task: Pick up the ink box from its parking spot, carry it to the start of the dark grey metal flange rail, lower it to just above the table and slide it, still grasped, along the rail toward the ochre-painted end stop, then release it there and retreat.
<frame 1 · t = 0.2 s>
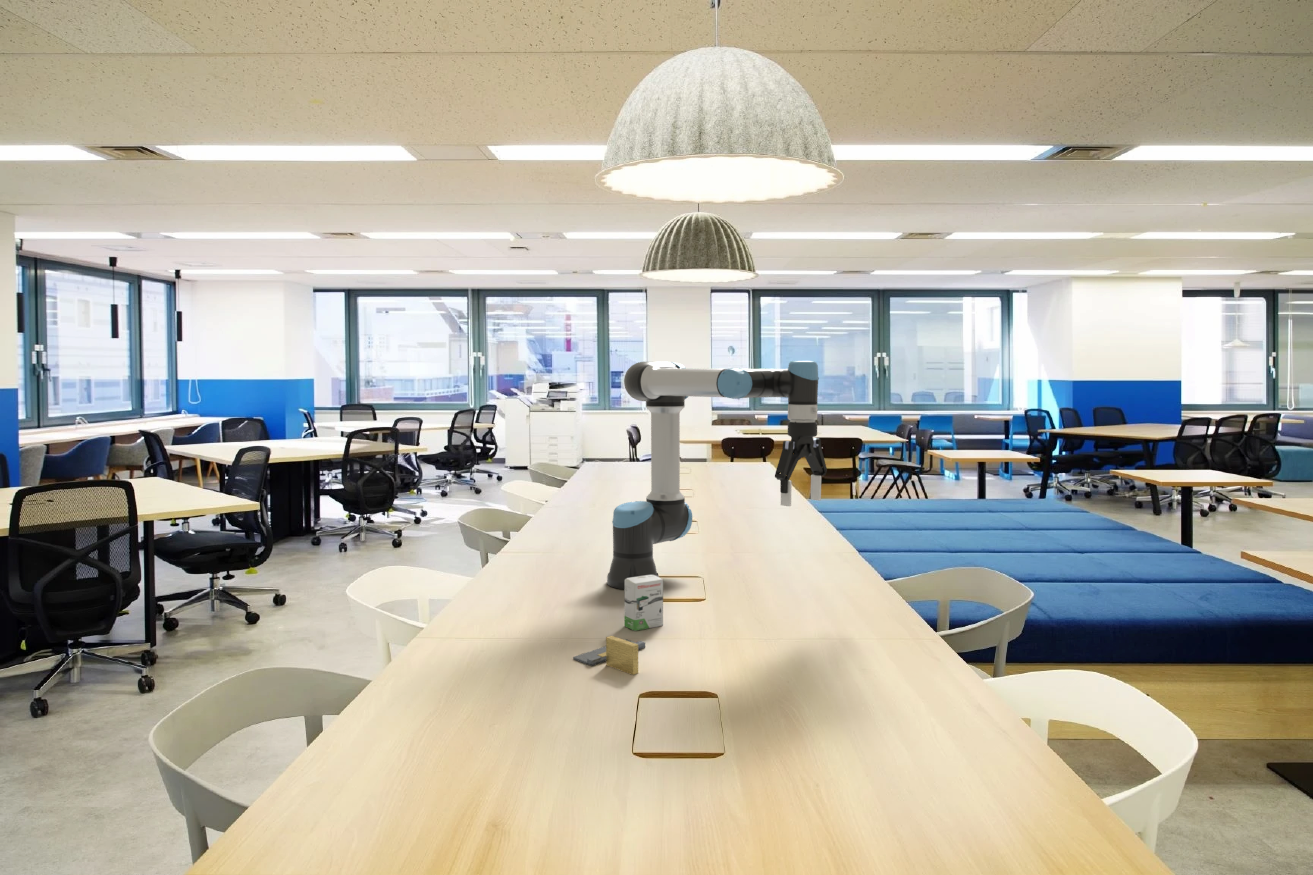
hand: (801, 502, 208), 28 cm above the table, fingers open, 13 cm apart
flange rail: (641, 662, 171), on the table
ink box: (643, 626, 196), on the table
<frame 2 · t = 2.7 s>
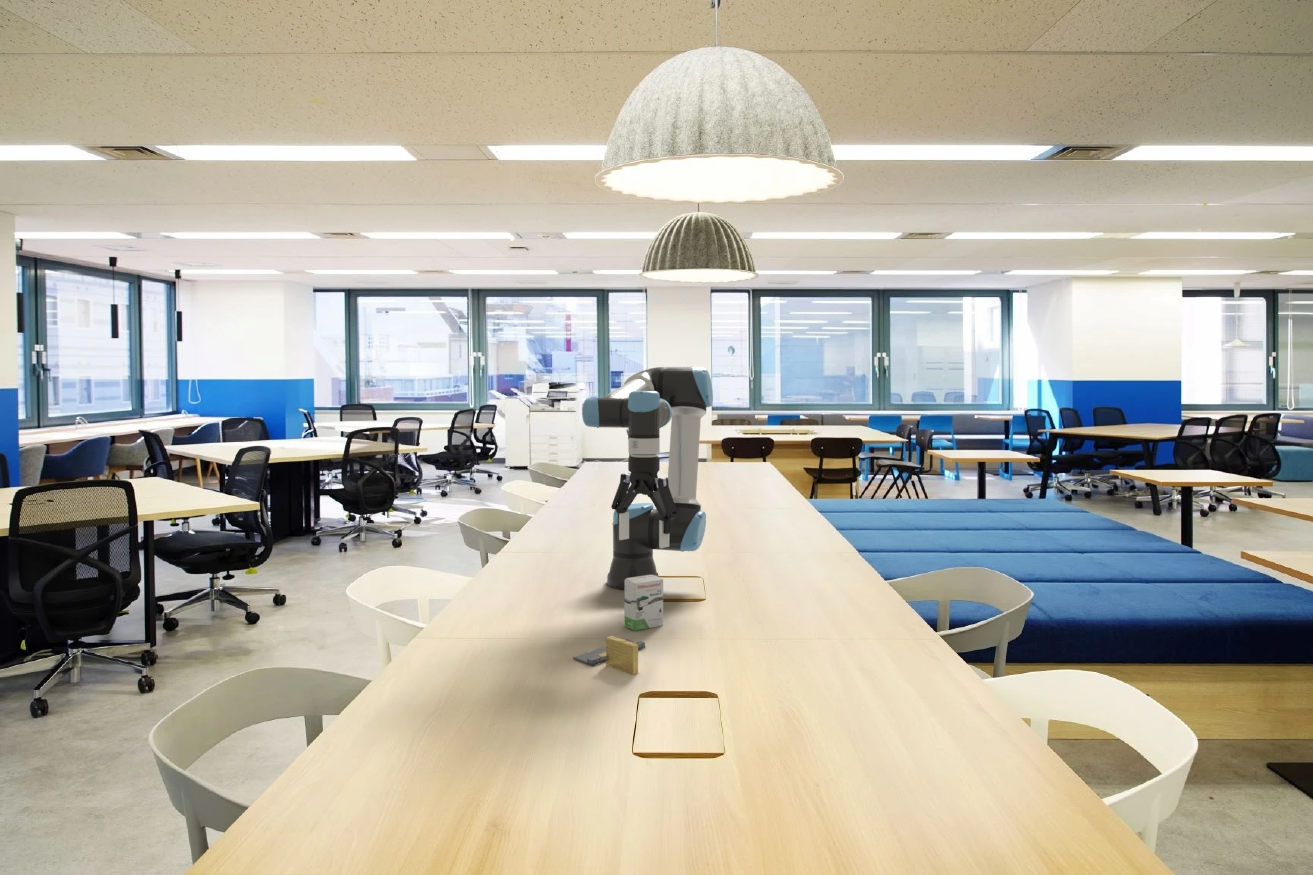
hand: (643, 543, 194), 20 cm above the table, fingers open, 13 cm apart
nothing on the table moved.
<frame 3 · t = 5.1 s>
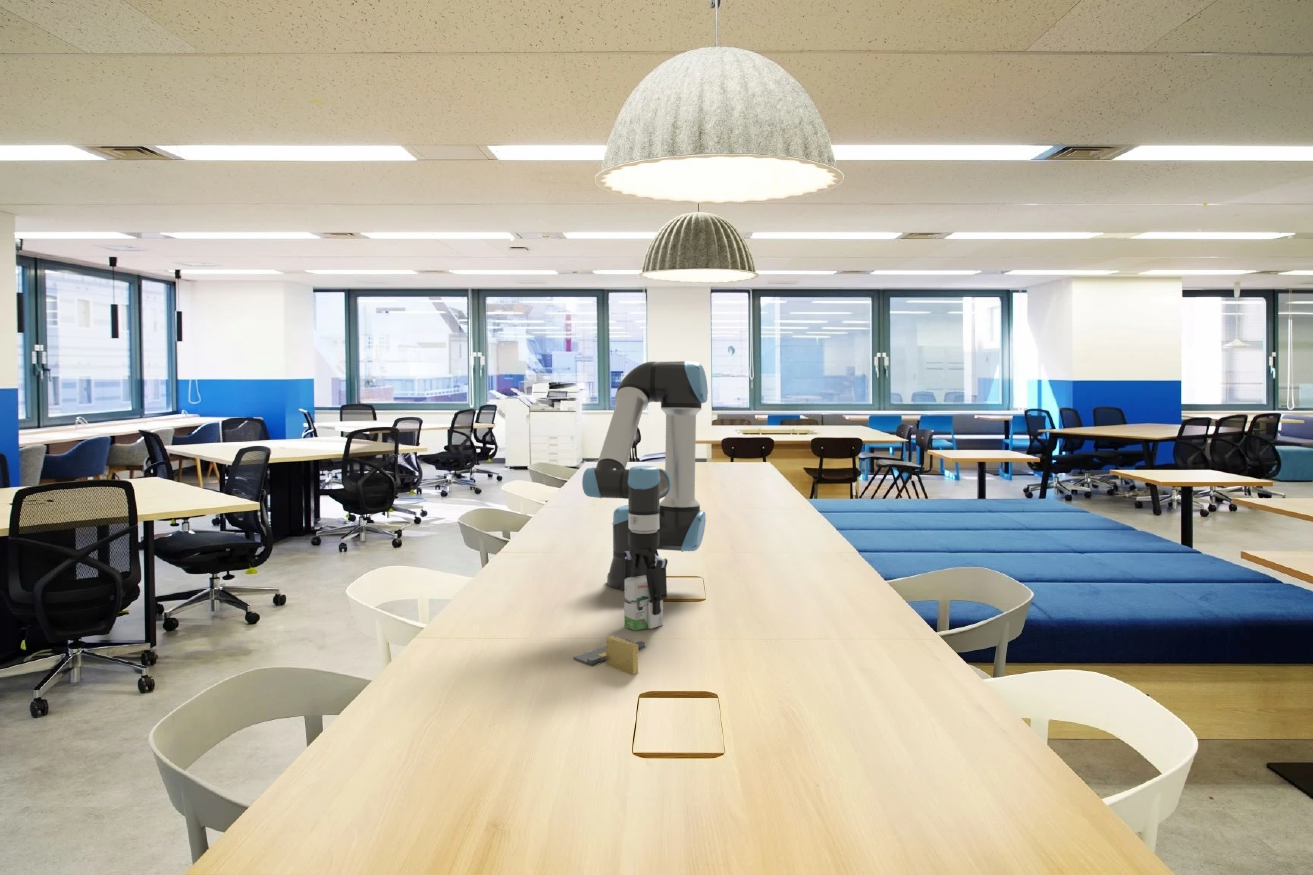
hand: (643, 624, 195), 0 cm above the table, fingers closed on ink box, 6 cm apart
ink box: (643, 626, 195), on the table, touching gripper
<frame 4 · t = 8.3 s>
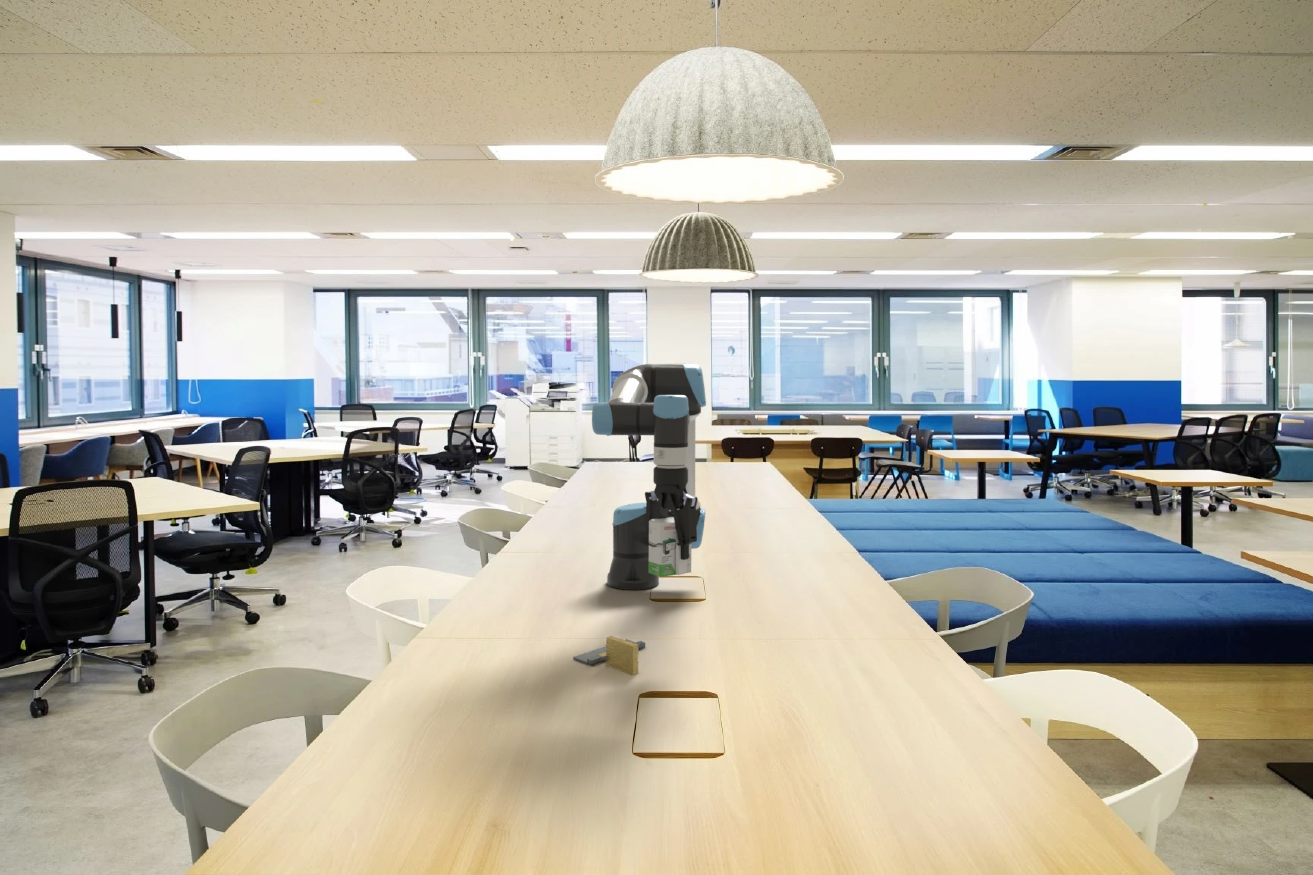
hand: (670, 571, 176), 18 cm above the table, fingers closed on ink box, 6 cm apart
ink box: (670, 573, 176), point 18 cm above the table, touching gripper
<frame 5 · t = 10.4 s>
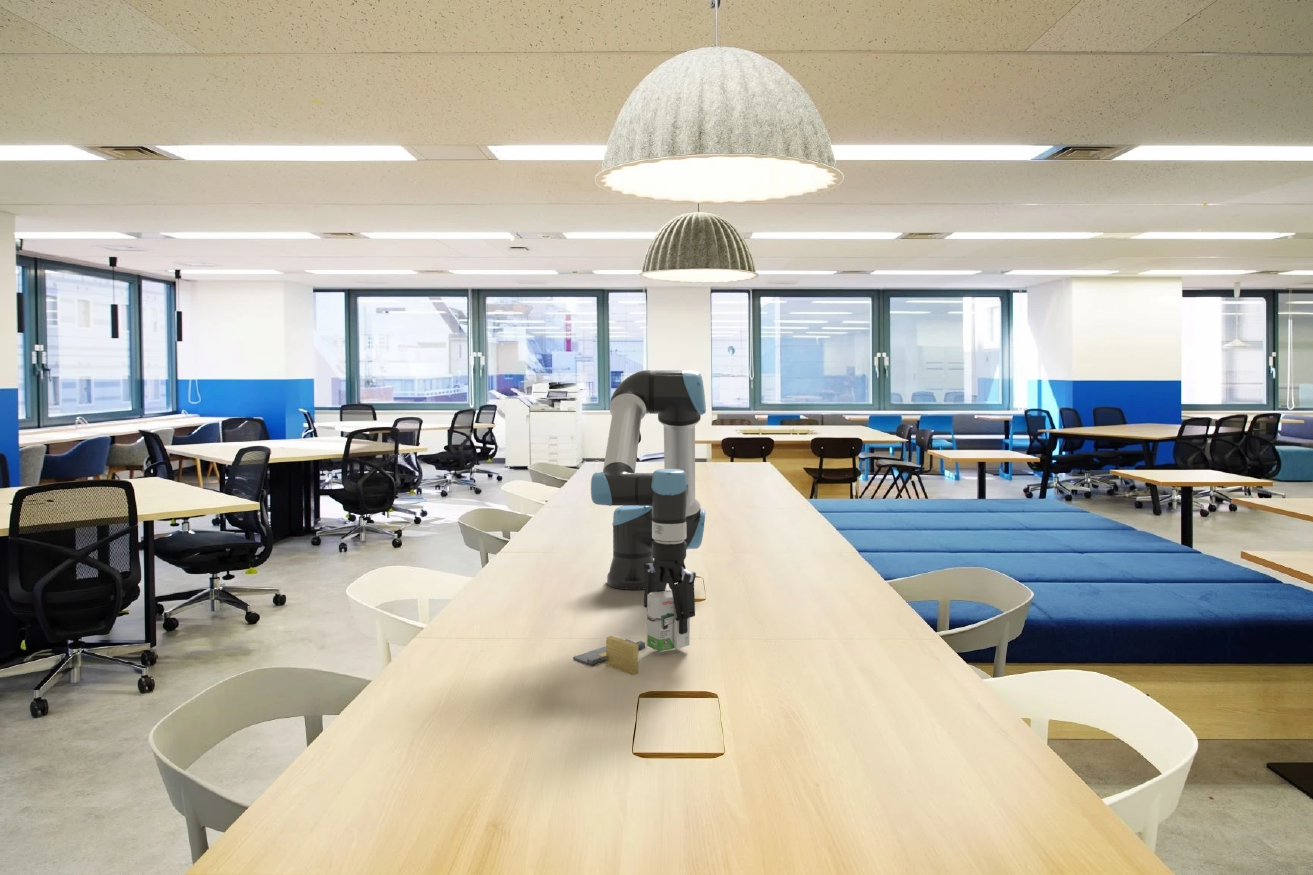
hand: (668, 643, 177), 2 cm above the table, fingers closed on ink box, 6 cm apart
ink box: (668, 646, 177), point 1 cm above the table, touching gripper
when the fingers open (2 cm above the table, at t = 12.0 s): ink box drops 1 cm, on the table.
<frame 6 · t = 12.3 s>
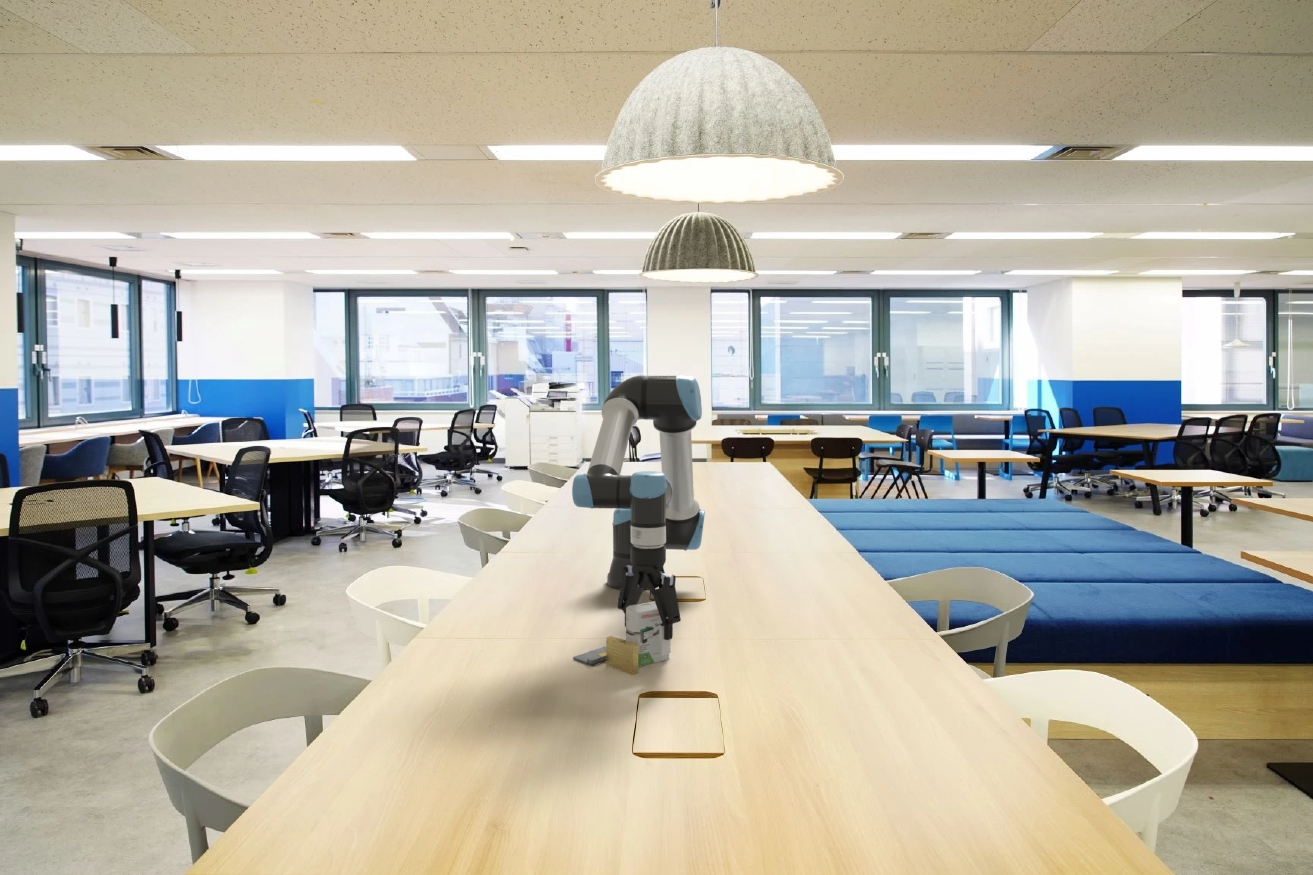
hand: (648, 648, 172), 2 cm above the table, fingers open, 9 cm apart
ink box: (647, 660, 172), on the table
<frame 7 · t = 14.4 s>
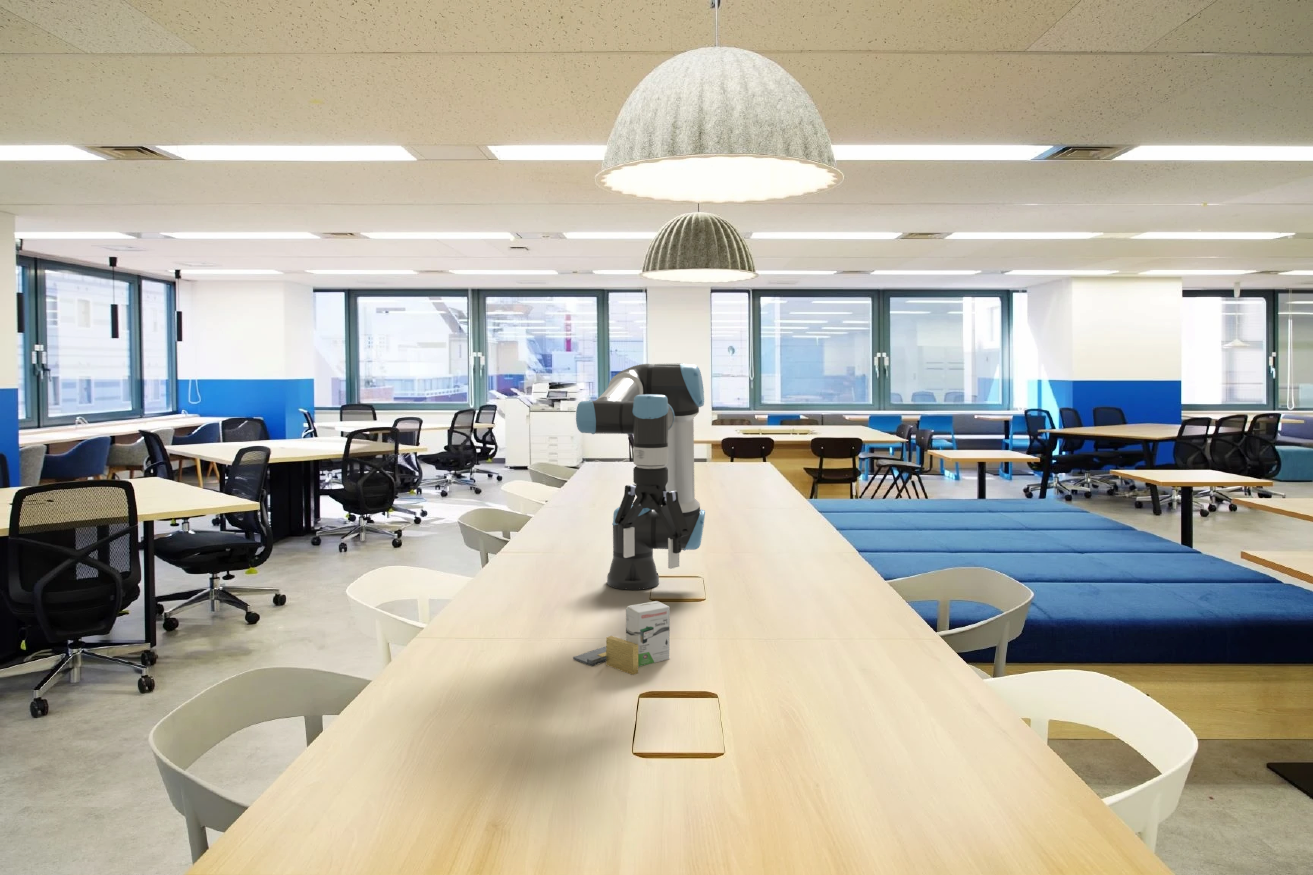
hand: (650, 562, 176), 20 cm above the table, fingers open, 13 cm apart
nothing on the table moved.
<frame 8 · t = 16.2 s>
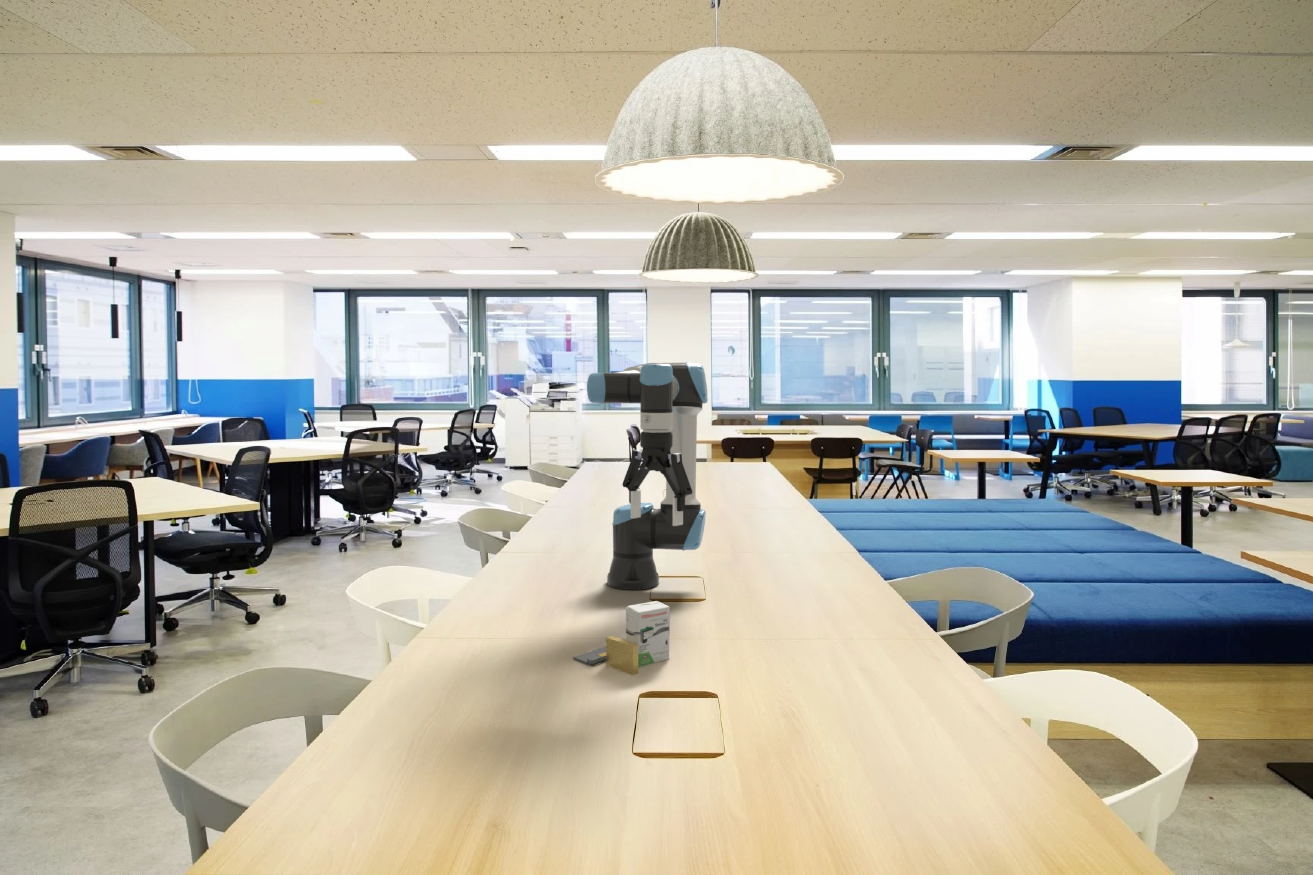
hand: (656, 521, 188), 27 cm above the table, fingers open, 13 cm apart
nothing on the table moved.
at the end: ink box inside the target area (0.5 cm from its centre), on the table; ink box tilted 0°; the gripper is holding nothing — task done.
